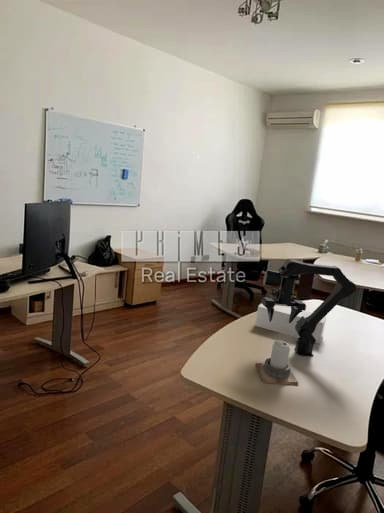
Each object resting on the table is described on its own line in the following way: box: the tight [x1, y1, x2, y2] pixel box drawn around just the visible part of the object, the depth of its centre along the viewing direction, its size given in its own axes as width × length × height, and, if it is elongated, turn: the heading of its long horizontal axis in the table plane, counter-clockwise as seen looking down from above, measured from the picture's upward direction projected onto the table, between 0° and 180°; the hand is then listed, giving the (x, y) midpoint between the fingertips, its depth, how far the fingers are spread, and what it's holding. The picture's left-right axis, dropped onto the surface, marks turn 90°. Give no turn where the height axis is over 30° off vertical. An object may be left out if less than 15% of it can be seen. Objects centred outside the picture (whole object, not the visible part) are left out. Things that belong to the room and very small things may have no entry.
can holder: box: [255, 357, 299, 386], centre depth 147 cm, size 13×13×4 cm
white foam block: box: [254, 302, 327, 344], centre depth 192 cm, size 32×11×11 cm, turn 64°
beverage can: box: [270, 339, 291, 369], centre depth 146 cm, size 6×6×12 cm
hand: (279, 322), depth 167 cm, fingers open, 9 cm apart
